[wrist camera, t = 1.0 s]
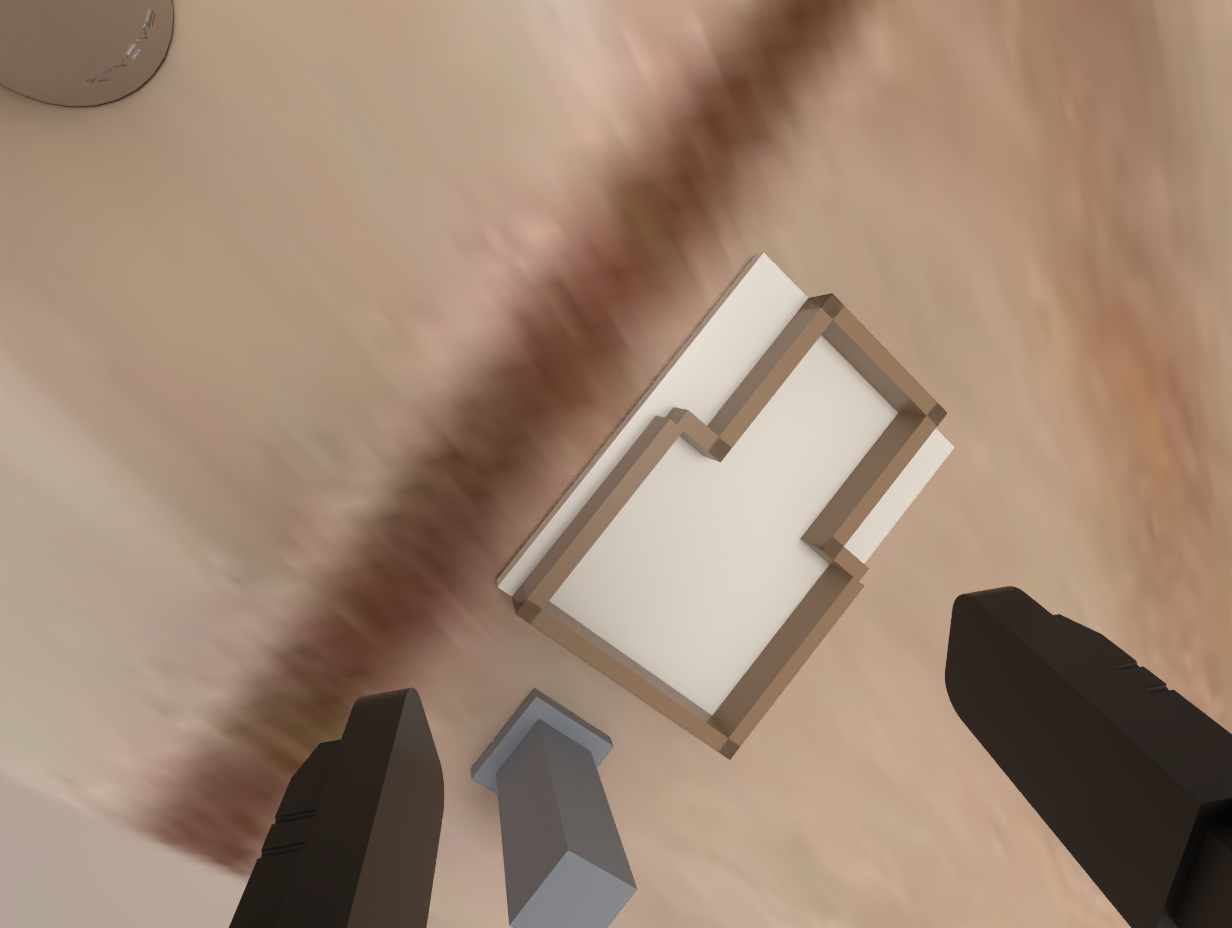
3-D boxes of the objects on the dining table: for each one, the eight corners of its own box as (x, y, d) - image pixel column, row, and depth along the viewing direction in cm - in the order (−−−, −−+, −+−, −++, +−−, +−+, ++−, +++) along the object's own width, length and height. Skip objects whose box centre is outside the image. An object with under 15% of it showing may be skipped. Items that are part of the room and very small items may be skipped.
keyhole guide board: (496, 580, 36) (500, 603, 33) (754, 256, 37) (785, 244, 34) (717, 733, 41) (741, 767, 38) (940, 445, 42) (985, 452, 38)
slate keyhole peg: (471, 768, 38) (475, 934, 27) (534, 688, 38) (564, 820, 27) (549, 813, 39) (584, 988, 28) (609, 737, 40) (667, 880, 28)
